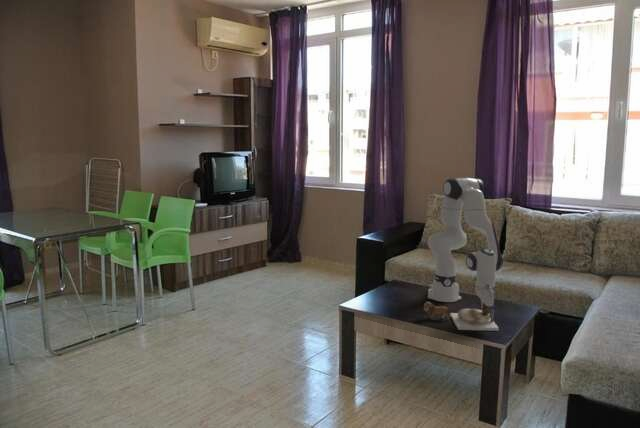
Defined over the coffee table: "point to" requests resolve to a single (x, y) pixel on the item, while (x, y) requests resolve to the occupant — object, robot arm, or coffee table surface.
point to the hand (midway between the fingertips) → (483, 308)
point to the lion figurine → (436, 310)
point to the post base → (474, 323)
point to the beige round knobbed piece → (475, 314)
